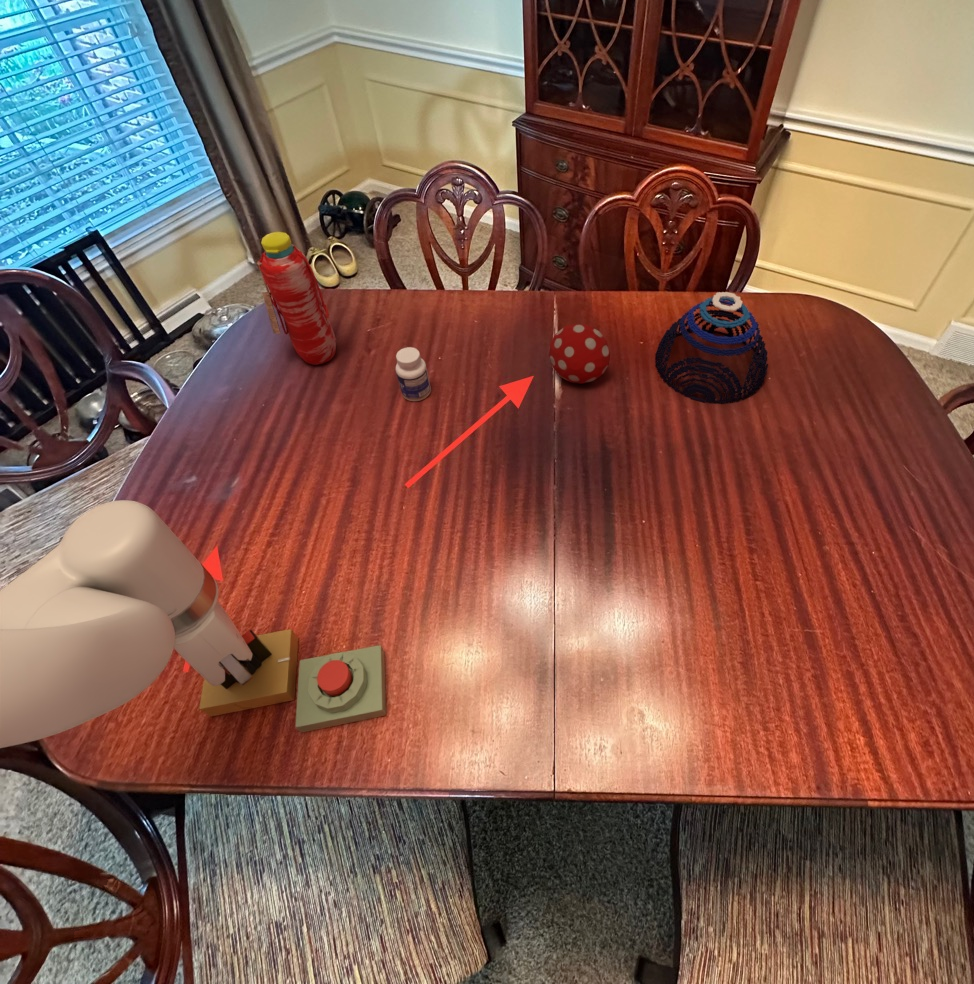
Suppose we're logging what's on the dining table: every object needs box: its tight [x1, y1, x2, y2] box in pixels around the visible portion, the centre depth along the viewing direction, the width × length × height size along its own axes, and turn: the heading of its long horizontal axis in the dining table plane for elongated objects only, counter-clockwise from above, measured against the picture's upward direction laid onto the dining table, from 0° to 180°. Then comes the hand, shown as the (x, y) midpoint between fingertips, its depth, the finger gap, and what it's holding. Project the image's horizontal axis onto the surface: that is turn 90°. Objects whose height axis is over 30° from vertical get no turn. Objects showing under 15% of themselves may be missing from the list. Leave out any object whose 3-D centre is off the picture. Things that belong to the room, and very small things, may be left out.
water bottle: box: [256, 231, 337, 366], centre depth 105 cm, size 12×8×25 cm, turn 86°
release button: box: [317, 660, 352, 696], centre depth 71 cm, size 4×4×2 cm
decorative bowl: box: [654, 291, 769, 405], centre depth 106 cm, size 20×20×14 cm
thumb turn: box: [220, 629, 272, 689], centre depth 71 cm, size 6×2×5 cm, turn 135°
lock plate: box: [198, 628, 300, 718], centre depth 74 cm, size 10×8×3 cm
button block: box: [294, 644, 387, 734], centre depth 73 cm, size 10×8×4 cm
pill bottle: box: [395, 346, 432, 402], centre depth 105 cm, size 5×5×9 cm
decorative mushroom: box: [548, 323, 611, 385], centre depth 109 cm, size 11×11×15 cm
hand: (244, 665), depth 73 cm, fingers closed on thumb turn
